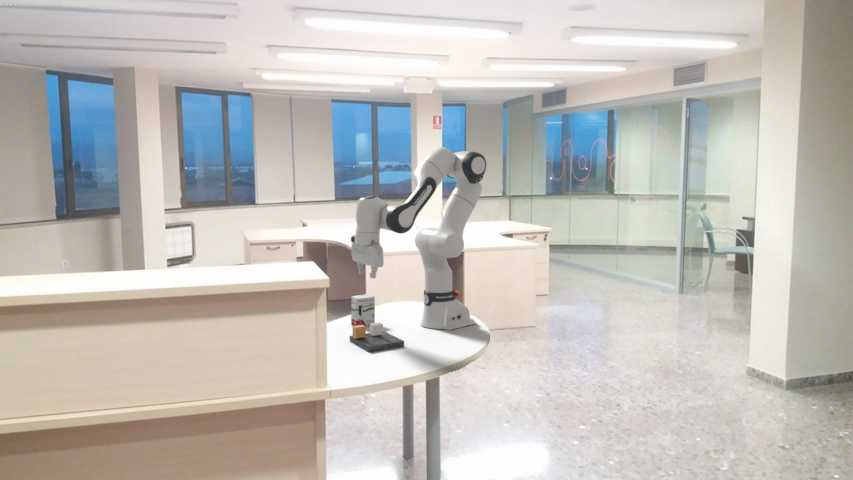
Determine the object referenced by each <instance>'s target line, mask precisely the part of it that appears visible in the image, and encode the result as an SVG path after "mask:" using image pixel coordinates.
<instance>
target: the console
mask: <svg viewBox="0 0 853 480" xmlns="http://www.w3.org/2000/svg"><path fill="white" fill-rule="evenodd" d="M349 342H350V343H351V344H353V345H355V346H357V347H359V348H360V349H362V350H364V351H366V352H367V353H372V352H379V351H386V350H390V349H396V348H397V349H398V348H403V347H405V341H404V340H403V339H401V338H398V337H397V336H395V335H393V334H390V333H388V332H386V331H384V330H383V335H376V336H372V335H370V332H368V333H366V337H363V338H356V339H355V338H354V337H353V335H349Z"/></svg>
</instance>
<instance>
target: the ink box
mask: <svg viewBox="0 0 853 480" xmlns="http://www.w3.org/2000/svg"><path fill="white" fill-rule="evenodd" d="M375 298H376V297H375V296H373V295H371V294H369V293H366V294H358V295H352V296H351V298H350V299H351V310H350V311H351V315H350V316H351V317H350V319H351V323H350V325H352V326H358V325H364V326H366V327H367V326H370V324H372V323H376V320H375V319H376V317H375V316H376V308H375V307H376V305H375V304H376V303H375V302H376V299H375Z"/></svg>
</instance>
